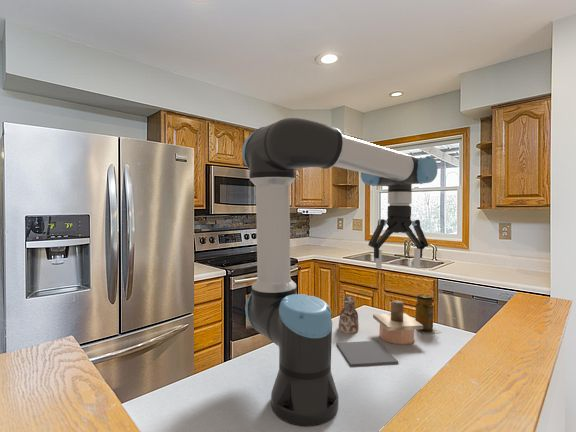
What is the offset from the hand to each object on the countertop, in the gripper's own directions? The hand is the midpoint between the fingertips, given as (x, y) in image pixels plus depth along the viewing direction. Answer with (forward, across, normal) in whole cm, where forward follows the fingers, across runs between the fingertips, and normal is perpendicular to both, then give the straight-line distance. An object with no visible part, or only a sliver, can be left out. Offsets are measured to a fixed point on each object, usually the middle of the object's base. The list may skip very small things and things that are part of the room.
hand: (397, 267), depth 109 cm
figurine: (+24, +14, -9) cm, 29 cm away
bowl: (+24, 0, 0) cm, 24 cm away
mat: (+24, +15, +10) cm, 30 cm away
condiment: (+24, -14, -6) cm, 29 cm away
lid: (+19, 0, 0) cm, 19 cm away
